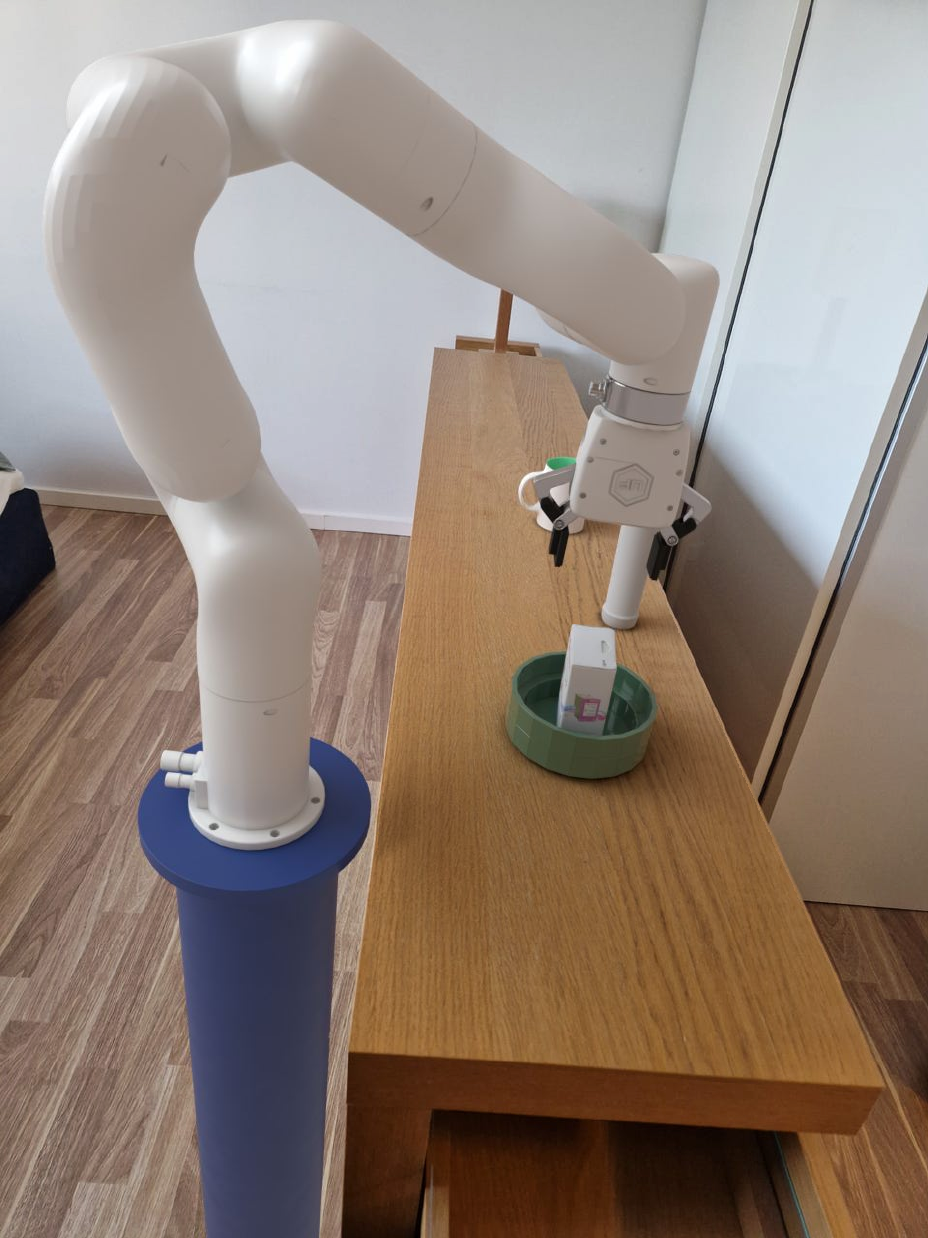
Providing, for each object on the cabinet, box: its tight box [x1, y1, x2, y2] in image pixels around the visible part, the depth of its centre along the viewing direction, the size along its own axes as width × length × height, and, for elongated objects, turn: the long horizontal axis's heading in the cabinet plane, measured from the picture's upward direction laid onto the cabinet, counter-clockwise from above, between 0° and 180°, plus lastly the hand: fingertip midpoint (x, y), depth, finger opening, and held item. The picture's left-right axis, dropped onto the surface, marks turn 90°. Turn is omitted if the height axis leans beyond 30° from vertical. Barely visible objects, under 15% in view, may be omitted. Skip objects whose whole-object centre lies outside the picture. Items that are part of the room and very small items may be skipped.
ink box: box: [556, 623, 617, 736], centre depth 97 cm, size 9×5×12 cm, turn 174°
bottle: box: [601, 525, 659, 630], centre depth 117 cm, size 5×5×25 cm
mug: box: [517, 456, 586, 535], centre depth 146 cm, size 12×8×10 cm
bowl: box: [505, 650, 659, 780], centre depth 98 cm, size 16×16×6 cm
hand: (604, 567), depth 88 cm, fingers open, 9 cm apart
